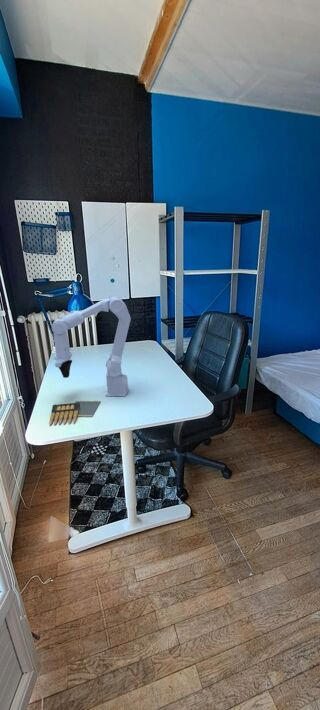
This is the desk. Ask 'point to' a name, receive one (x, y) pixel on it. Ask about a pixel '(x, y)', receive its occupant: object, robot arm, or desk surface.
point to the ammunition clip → (64, 413)
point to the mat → (87, 408)
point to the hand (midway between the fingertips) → (66, 377)
